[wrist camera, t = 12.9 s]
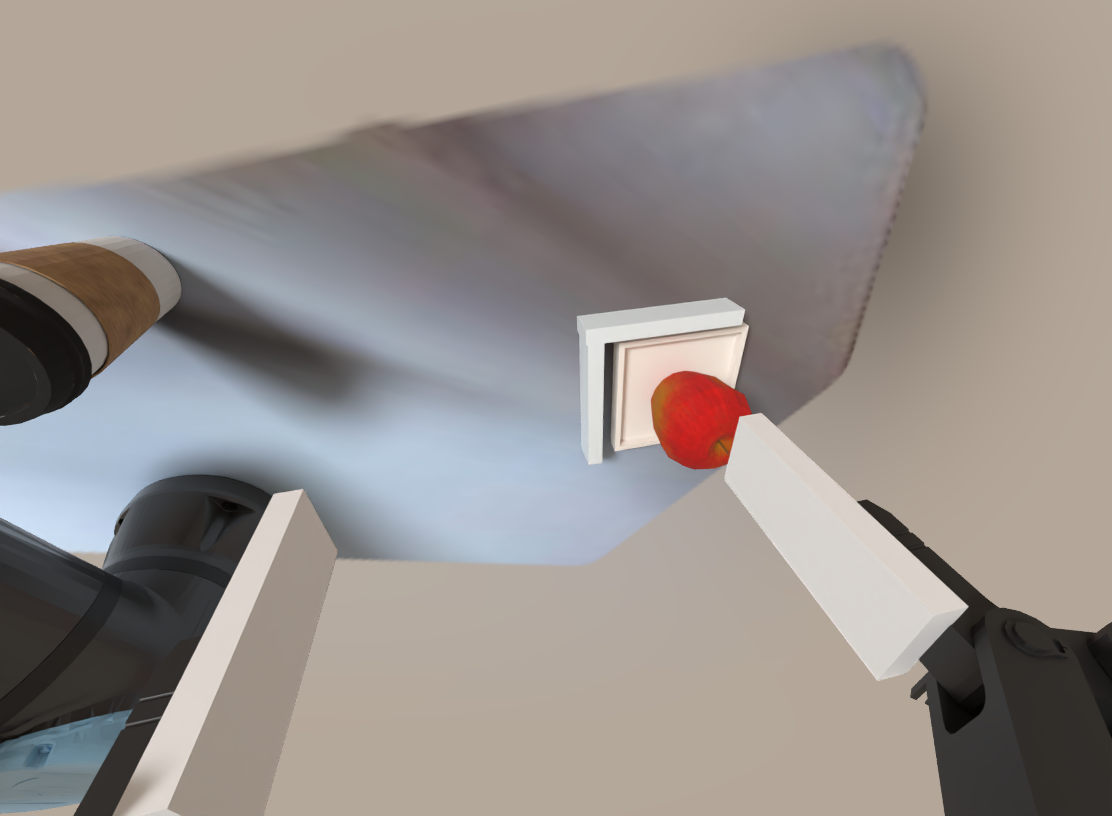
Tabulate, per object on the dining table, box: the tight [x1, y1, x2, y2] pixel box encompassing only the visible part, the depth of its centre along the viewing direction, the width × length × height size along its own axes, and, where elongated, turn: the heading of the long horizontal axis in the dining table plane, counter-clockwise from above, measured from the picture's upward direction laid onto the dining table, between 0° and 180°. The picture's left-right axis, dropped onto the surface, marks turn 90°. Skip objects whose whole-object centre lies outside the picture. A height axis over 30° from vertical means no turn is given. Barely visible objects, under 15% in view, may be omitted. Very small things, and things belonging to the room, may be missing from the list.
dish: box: [610, 322, 749, 451], centre depth 47 cm, size 14×14×2 cm
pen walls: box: [577, 298, 745, 465], centre depth 46 cm, size 16×17×4 cm
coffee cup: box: [0, 236, 182, 426], centre depth 26 cm, size 8×8×15 cm
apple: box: [651, 371, 752, 469], centre depth 43 cm, size 9×9×12 cm
